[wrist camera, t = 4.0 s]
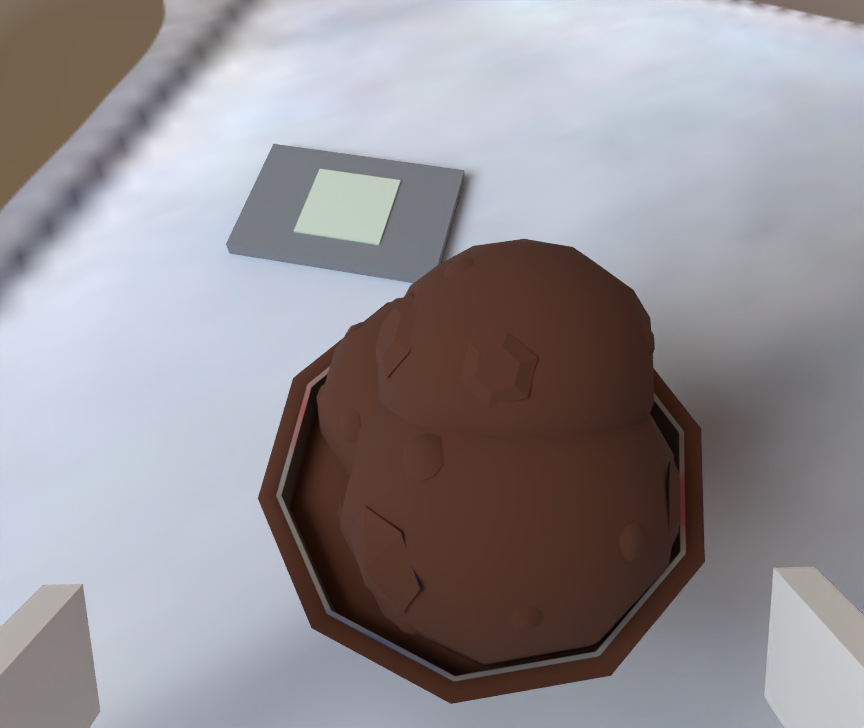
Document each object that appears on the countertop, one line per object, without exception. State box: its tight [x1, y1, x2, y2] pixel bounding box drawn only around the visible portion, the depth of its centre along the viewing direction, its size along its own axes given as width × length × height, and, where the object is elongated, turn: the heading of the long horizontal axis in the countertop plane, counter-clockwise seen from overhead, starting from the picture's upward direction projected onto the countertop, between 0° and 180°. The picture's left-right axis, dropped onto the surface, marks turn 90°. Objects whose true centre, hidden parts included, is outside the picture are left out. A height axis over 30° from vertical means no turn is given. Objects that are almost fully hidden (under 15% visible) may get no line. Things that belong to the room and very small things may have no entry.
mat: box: [226, 144, 464, 283], centre depth 36 cm, size 10×7×1 cm
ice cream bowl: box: [258, 239, 705, 704], centre depth 21 cm, size 11×11×15 cm
